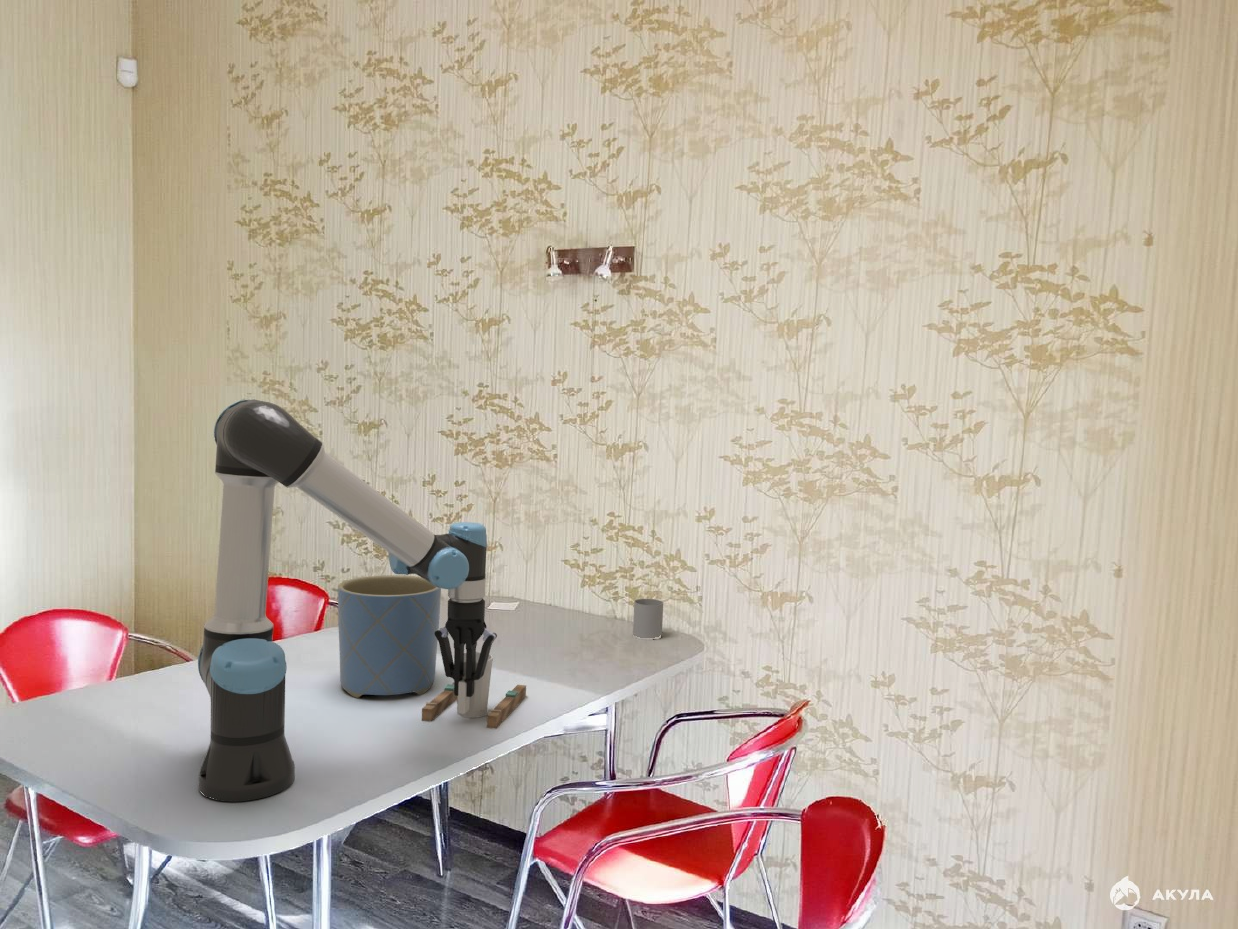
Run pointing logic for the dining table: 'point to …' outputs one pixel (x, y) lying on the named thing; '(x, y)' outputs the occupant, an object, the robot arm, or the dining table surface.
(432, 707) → the channel
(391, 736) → the dining table surface
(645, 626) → the cup
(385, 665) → the planter
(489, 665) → the cup
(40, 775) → the dining table surface
